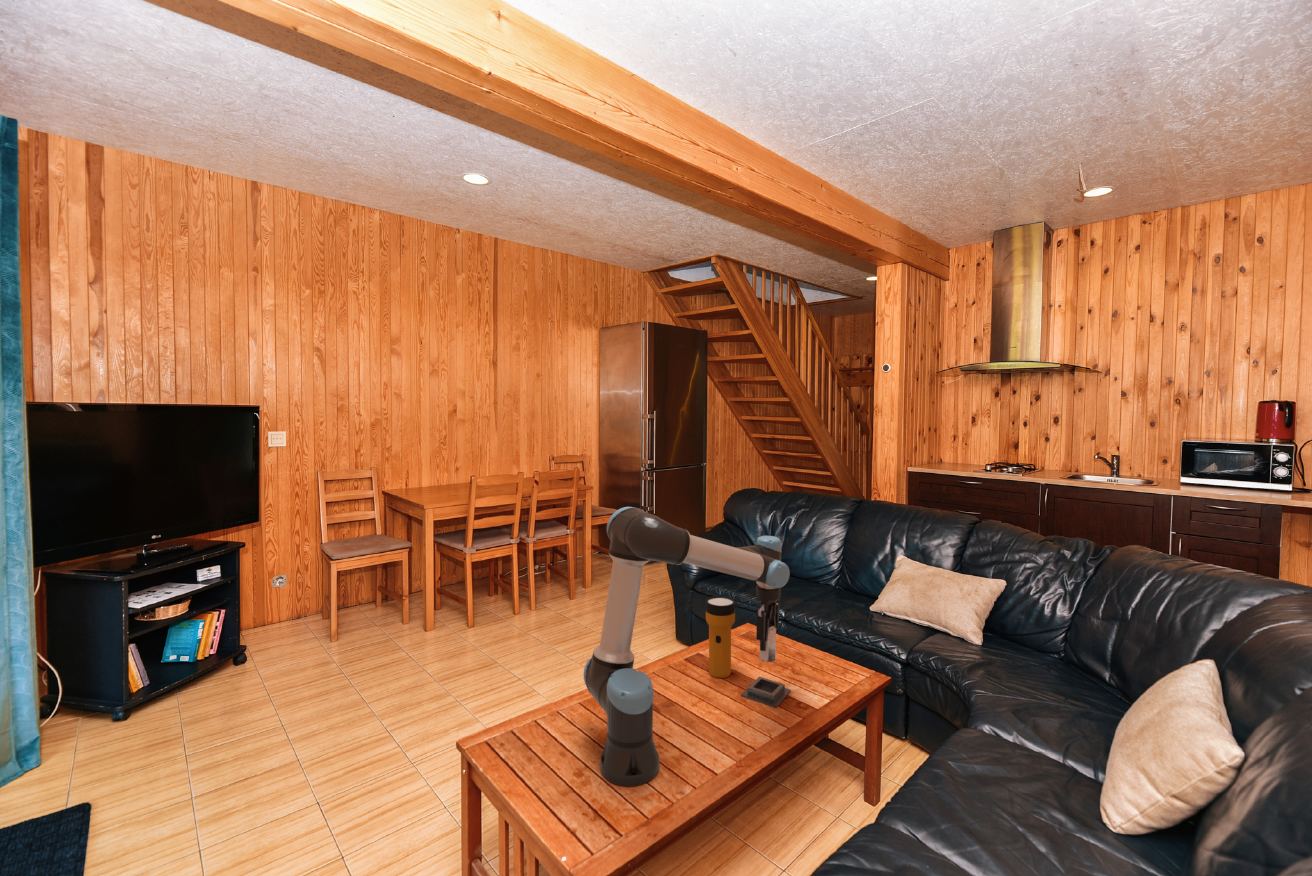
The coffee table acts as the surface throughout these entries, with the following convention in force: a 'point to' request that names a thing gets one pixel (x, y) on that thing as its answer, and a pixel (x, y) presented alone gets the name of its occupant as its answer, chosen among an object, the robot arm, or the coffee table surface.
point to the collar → (766, 692)
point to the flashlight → (720, 634)
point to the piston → (771, 643)
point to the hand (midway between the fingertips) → (767, 656)
